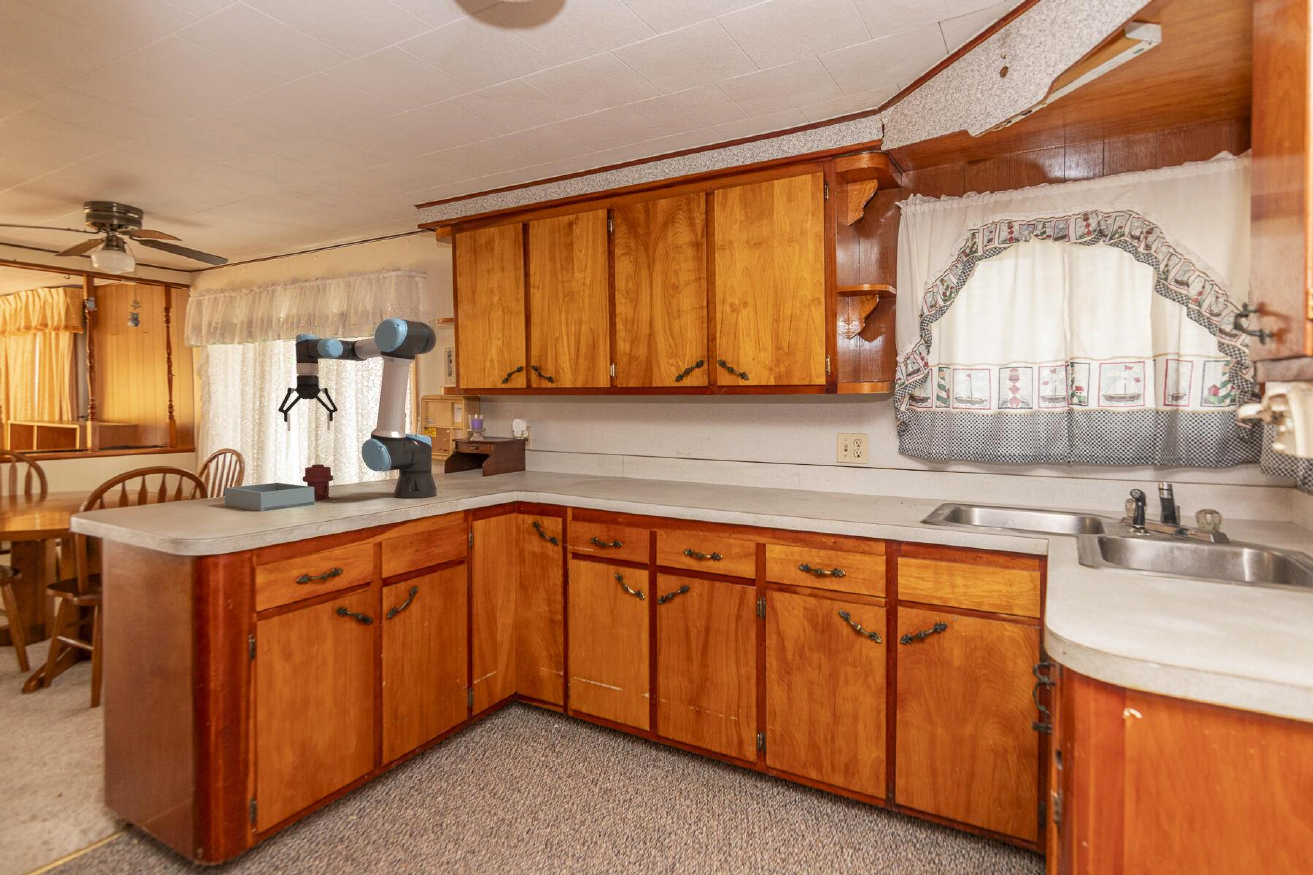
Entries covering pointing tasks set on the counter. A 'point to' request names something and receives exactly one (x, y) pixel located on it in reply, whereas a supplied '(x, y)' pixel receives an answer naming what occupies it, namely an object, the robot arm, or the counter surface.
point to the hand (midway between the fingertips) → (309, 430)
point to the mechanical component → (318, 480)
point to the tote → (269, 496)
